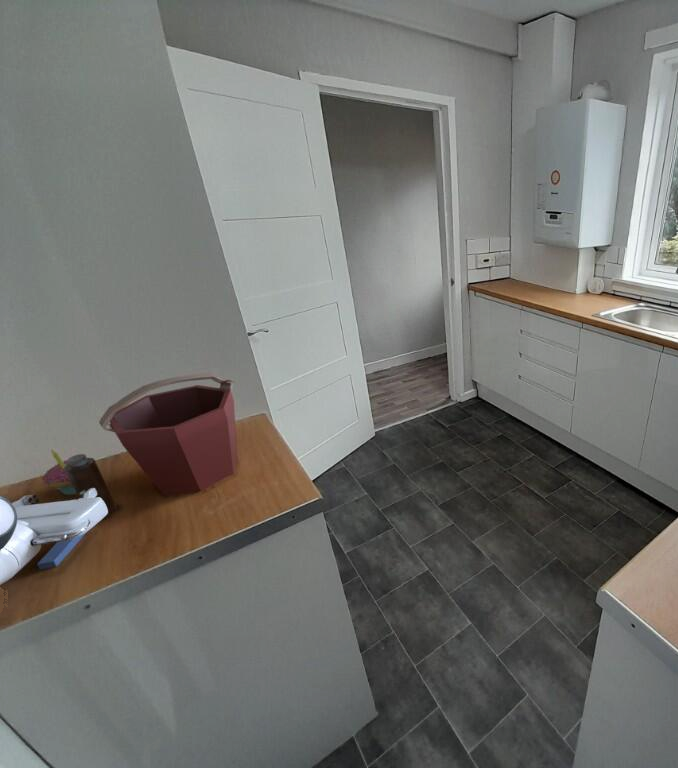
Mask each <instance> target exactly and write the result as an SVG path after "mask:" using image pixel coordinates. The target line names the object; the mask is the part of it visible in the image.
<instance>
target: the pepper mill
mask: <svg viewBox="0 0 678 768" xmlns="http://www.w3.org/2000/svg"><path fill="white" fill-rule="evenodd" d="M67 461H68V463H69V464H67V465H66V466H65V467H64V469H65V471H66V473H67V475H68V477H69V479H70V481H71V483H72V485H73V487H74V489H75V491H76V495H77V497H78V499H79V498H82V497H81V496H80V493H81V492H82V491H83V490H84V489H90V488H95V489H96V491H97V496H96V497H100V498H102V500H103V501H104V503H105V504H106V506H107V509H108V513H107V515H106V516H105V517H104V518H106V517H108V516H110V515H112V514H114V513H115V511H117V509H118V506H117V504H116V502H115V499H114V498H113V496H112V493H111V491H110V489H109V487H108V486H107V483H106V480H105V478H104V476H103V475H102V472H101V470H100V468H99V466H98V464H97V462H96V459H95V458H94V457H87V455H86V454H84V453H79V454H75V455H72V456H70V457H69V458H68V459H67Z"/></svg>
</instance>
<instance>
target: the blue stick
mask: <svg viewBox="0 0 678 768" xmlns="http://www.w3.org/2000/svg"><path fill="white" fill-rule="evenodd" d="M86 534H87V532H86V533H84V534H83V535H81V536H79V537H77V538H74V539H71V540H66V541H63V542H55V544H54V545H53V546H52V547H51V549H49V550H48V551H47V553H46V554H45V555H44V556H43V557H42V558H41V559H40V560H39V561H38V562H37V564H36V566H37V567H38V569H39V570H40V571H41V570H45V569H51V568H56V567H58V565H60V563H62V561H63V560H64V559H65V558H66V556H67V555H69V553H70V552H71V551H72V550H73V548H75V546H76V545H77V544H78V543H79V542H80V541H81V539H82V538H83V537H84V536H85V535H86Z"/></svg>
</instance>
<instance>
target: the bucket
mask: <svg viewBox="0 0 678 768" xmlns="http://www.w3.org/2000/svg"><path fill="white" fill-rule="evenodd" d="M202 380H205V381H206V380H211V381H213V382H215V383H216V384H217V383H218V384H220V385H219V387H214V386H206V385H199V384H195V385H192V386H191V385H190V386H186V387H180V388H177V389H172V390H166V391H162V392H157V393H152V394H148V395H145V394H147V393H149V392H151V391H154V390H157V389H160V388H162V387H166V386H170V385H174V384H178V383H185V382H194V381H202ZM234 383H235V382H234V381H233V380H231V379H229V378H224V377H223V378H222V377H218V376H216V375H214V374H212V373H211V372H208V373H207V372H206V373H196V374H195V373H194V374H186V375H180V376H175V377H174V376H173V377H169V378H165V379H161V380H156V381H154V382H153V381H152V382H151V383H147V384H144V385H142V386H140V387H138V388H137V389H135V390H133V391H131V392H130V393H129V394H126V395H125V396H123V397H121V399H119V400H117V402H115V403H114V404H112V405H111V406H109V407H108V408H107V409H106V411H104V413H103V415H102V416H101V418H100V420H99V422H98V423H99V424H100V427H101V428H102V429H103V430H104V431H108V432H113V433H115V435H116V437H117V438H118V440H119V442H120V443H121V445H122V446H123V448H124V449H125V451H126V452H127V453H128V454H129V455H130V456H131V458H132V459H133V460H134V461H135V462H136V464H137V465H138V466H139V467H140V468H141V470H142V471H143V472H144V473H145V474H146V476H147V477H148V478H149V479H150V481H151V482H152V483H153V484H154V485H155V486H156V488H157V489H158V490H159V491H160V492H161V494H162V495H163V496H173V495H183V494H189V493H190V494H192V493H199V492H203V491H204V490H206V489H209V488H210V487H212V486H214V485H215V484H217V483H219V482H221V481H223V480H224V479H226V478H228V477H230V476H232V475H233V474H234V472H235V469H236V464H237V461H238V444H237V429H236V427H237V426H236V414H235V413H236V412H235V399H234V396H233V394H232V392H233V388H234ZM142 396H143V397H142ZM140 397H141V398H140Z"/></svg>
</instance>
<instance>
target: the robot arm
mask: <svg viewBox="0 0 678 768" xmlns="http://www.w3.org/2000/svg"><path fill="white" fill-rule="evenodd" d="M80 496H81V497H82V498H79V497H78V499H70V500H62V501H53V502H44V503H39V498H38V497H37V494H27V495H23V496H21V497H20V498H19V499H18V500H15V501H13V502H11V501H10V500H9V499H8V498H6V496H4V495H3V494H1V493H0V586H1V585H3V584H4V583H6V582H8V581H9V580H10V579H12V578H13V577H15V575H16V574H18V573H19V571H21V570H22V569H23V568H24V567H25V566H26V565H27V564H28V563H29V562H30V561H31V560H32V559H33V558H34V557H36V555H37V554H38V553H40V550H41V549H42V545H47V544H51V543H57V542H63V541H66V540H71V539H74V538H77V537H79V536H81V535H83V534H84V533H86V534H87V533H88V531H89V530H91V529H92V528H94V527H95V526H96V525H97V524H98V523H100V521H102V520H103V519H104V518H106V517H107V516H106V515H107V513H108V509H107V506H106V504H105V503H104V501H103V500H102V498H100V497H96V496H97V491H96V489H95V488H90V489H84V490H83V491H82V492H81V493H80ZM105 516H106V517H105Z"/></svg>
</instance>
